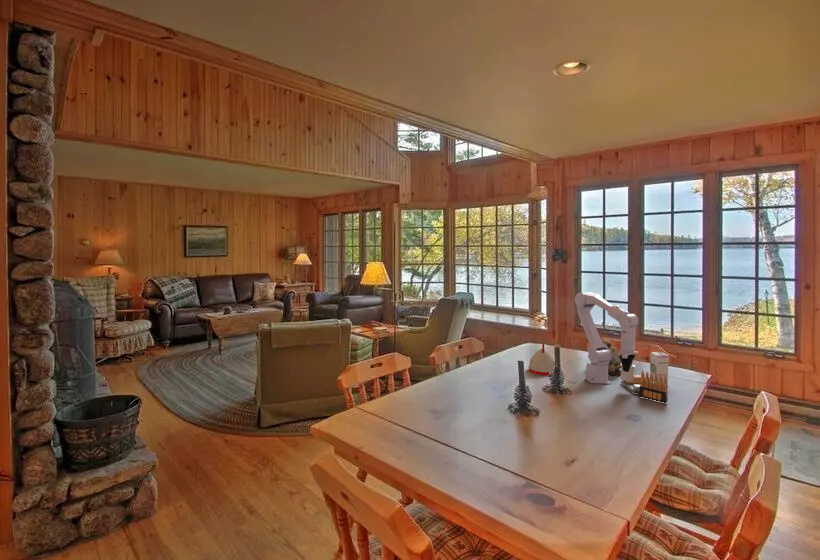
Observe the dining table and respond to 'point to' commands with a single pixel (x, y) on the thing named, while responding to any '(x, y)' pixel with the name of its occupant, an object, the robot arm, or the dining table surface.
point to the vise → (632, 386)
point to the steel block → (628, 374)
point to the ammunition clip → (653, 387)
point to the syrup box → (659, 365)
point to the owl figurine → (613, 360)
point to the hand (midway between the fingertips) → (626, 370)
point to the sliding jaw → (636, 379)
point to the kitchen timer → (541, 362)
